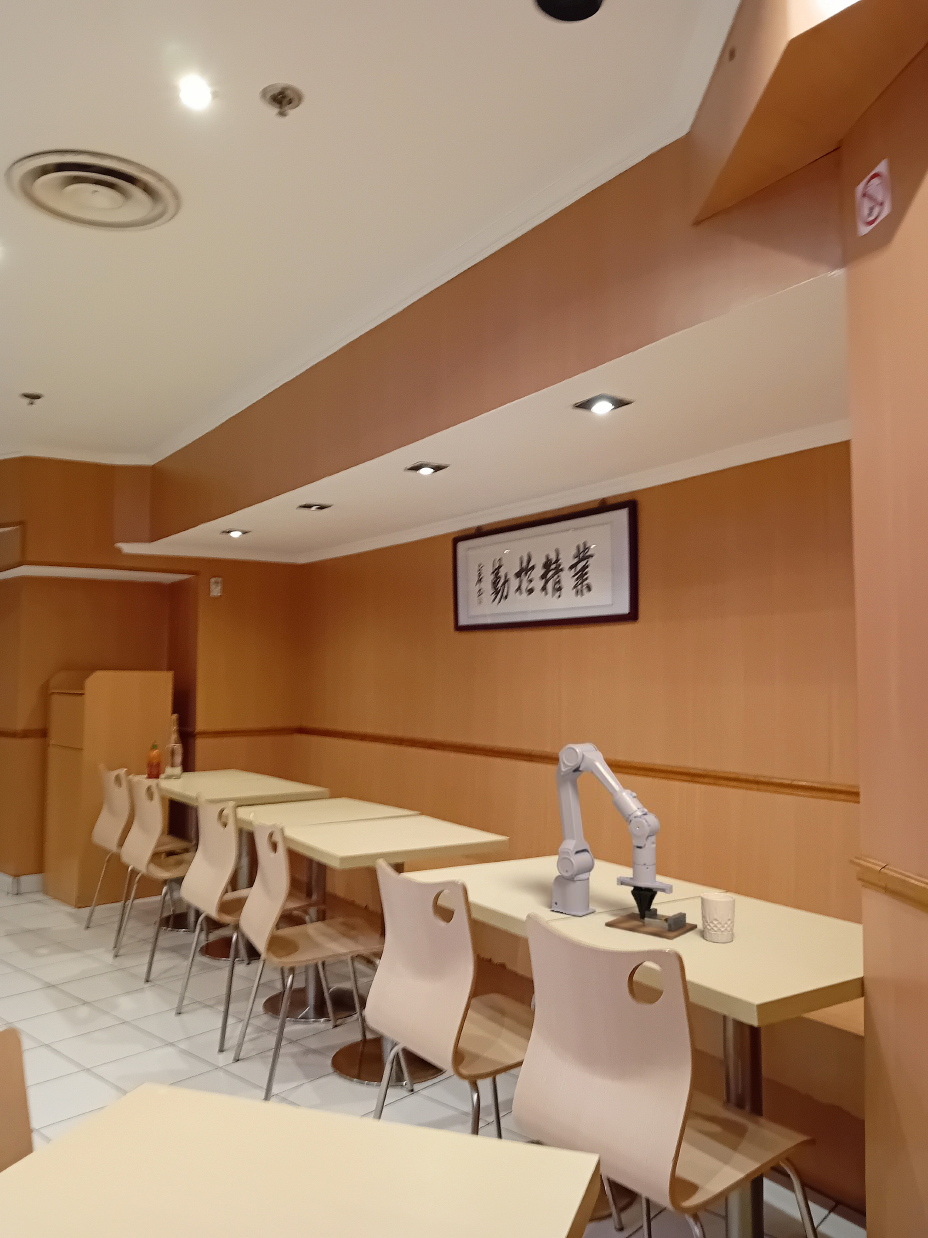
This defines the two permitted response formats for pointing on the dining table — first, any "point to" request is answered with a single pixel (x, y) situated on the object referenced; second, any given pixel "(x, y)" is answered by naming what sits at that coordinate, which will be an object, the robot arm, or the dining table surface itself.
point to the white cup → (718, 917)
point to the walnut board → (638, 925)
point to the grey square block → (655, 915)
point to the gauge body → (667, 922)
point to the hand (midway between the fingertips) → (644, 918)
